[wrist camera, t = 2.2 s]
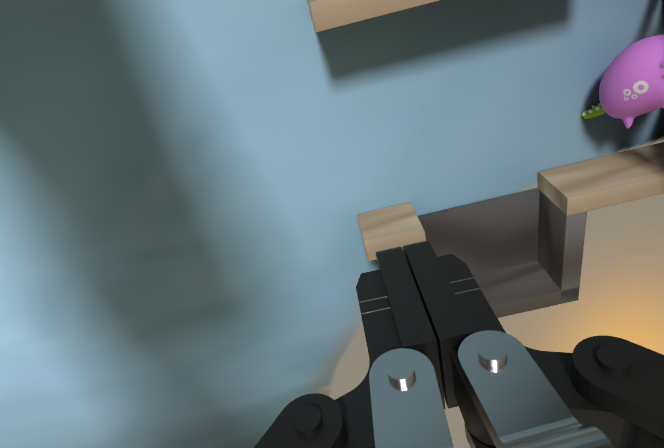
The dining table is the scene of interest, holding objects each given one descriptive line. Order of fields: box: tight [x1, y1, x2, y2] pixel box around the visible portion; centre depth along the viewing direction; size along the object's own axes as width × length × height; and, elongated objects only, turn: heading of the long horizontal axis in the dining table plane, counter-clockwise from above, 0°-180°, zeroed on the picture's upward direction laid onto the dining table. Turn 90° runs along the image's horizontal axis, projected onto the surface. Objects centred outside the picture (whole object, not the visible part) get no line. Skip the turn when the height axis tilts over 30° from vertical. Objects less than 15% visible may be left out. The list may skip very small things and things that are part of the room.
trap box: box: [308, 0, 664, 318], centre depth 20 cm, size 24×30×3 cm
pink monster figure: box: [582, 35, 664, 128], centre depth 19 cm, size 7×5×9 cm
